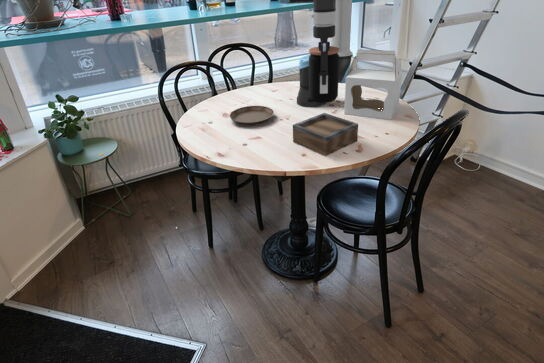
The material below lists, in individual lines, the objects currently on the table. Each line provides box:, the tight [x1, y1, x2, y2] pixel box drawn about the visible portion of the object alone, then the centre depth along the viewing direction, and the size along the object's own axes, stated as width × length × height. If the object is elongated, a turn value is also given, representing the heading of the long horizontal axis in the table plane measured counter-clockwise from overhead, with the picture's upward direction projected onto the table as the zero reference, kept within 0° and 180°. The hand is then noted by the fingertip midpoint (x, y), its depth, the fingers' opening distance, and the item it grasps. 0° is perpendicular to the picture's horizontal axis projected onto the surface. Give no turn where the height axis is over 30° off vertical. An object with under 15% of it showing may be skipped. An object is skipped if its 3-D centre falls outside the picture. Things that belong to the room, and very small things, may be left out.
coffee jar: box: [308, 45, 339, 104], centre depth 137 cm, size 11×11×18 cm
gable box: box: [343, 49, 403, 121], centre depth 168 cm, size 22×13×28 cm, turn 62°
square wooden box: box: [292, 112, 359, 157], centre depth 148 cm, size 18×18×8 cm
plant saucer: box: [229, 105, 275, 127], centre depth 176 cm, size 21×21×3 cm
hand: (323, 88), depth 139 cm, fingers closed on coffee jar, 11 cm apart
